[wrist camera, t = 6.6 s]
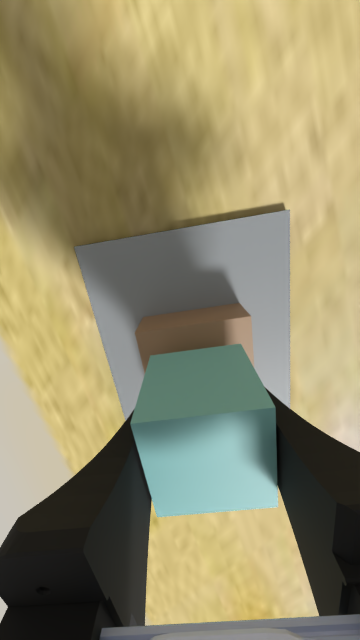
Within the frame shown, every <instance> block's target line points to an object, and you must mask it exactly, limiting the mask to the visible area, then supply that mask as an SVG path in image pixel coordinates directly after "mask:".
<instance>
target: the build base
mask: <svg viewBox="0 0 360 640" xmlns="http://www.w3.org/2000/svg"><path fill="white" fill-rule="evenodd" d="M74 249H75V252H76V255H77V259H78V262H79V265H80V269H81V272H82V276H83V279H84V282H85V286H86V289H87V292H88V296H89V299H90V302H91V306H92V309H93V313H94V316H95V319H96V323H97V326H98V329H99V333H100V336H101V339H102V343H103V346H104V350H105V353H106V356H107V360H108V363H109V366H110V370H111V373H112V376H113V380H114V383H115V387H116V390H117V393H118V397H119V400H120V403H121V407H122V410H123V413H124V417H125V420H127V418H128V417H129V416H130V414H131V413H132V411H133V410H134V409H135V406H136V403H137V399H138V396H139V392H140V389H141V386H142V382H143V379H144V375H145V372H146V368H147V365H148V362H149V358H150V355H158V354H166V353H173V352H181V351H188V350H196V349H203V348H211V347H218V346H226V345H233V344H241V345H242V347H243V348H244V350H245V352H246V354H247V356H248V358H249V360H250V361H251V363H252V365H253V367H254V369H255V371H256V372H257V374H258V376H259V378H260V380H261V382H262V383H263V385H264V387H265V388H267V389H268V390H269V391H270V392H271V393H272V394H273V395H274V396H275V397H277V398H278V399H279V400H280V401H281V402H282V403H284V404H285V405H286V406H287V407H289V408H290V210H285V211H279V212H273V213H267V214H261V215H256V216H250V217H244V218H238V219H232V220H227V221H221V222H215V223H209V224H204V225H198V226H192V227H186V228H180V229H175V230H169V231H163V232H157V233H151V234H146V235H140V236H134V237H128V238H123V239H117V240H111V241H105V242H99V243H94V244H88V245H82V246H76V247H74Z"/></svg>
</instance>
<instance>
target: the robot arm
mask: <svg viewBox="0 0 360 640" xmlns="http://www.w3.org/2000/svg"><path fill="white" fill-rule="evenodd" d="M265 389H266V391H267V393H268V394H269V396H270V398H271V400H272V402H273V404H274V405H275V407H276V447H277V485H278V487H279V490H280V493H281V496H282V499H283V502H284V505H285V508H286V511H287V514H288V517H289V520H290V523H291V526H292V529H293V532H294V535H295V538H296V541H297V544H298V548H299V551H300V554H301V557H302V560H303V563H304V567H305V570H306V573H307V576H308V580H309V583H310V586H311V589H312V593H313V596H314V599H315V603H316V606H317V609H318V613H319V616H317V617H299V618H280V619H262V620H243V621H224V622H206V623H187V624H169V625H150V626H145V603H146V578H147V558H148V541H149V526H150V513H151V501H152V498H151V494H150V491H149V487H148V484H147V480H146V477H145V473H144V470H143V466H142V463H141V459H140V456H139V452H138V449H137V445H136V442H135V438H134V435H133V431H132V428H131V425H130V423H131V420H132V416H133V413H134V410H133V411H132V413H131V414H130V416H129V417H128V418H127V420H126V421H125V422H124V424H123V425H122V426H121V428H120V429H119V430H118V431H117V433H116V434H115V435H114V436H113V438H112V439H111V440H110V441H109V442H108V444H107V445H106V446H105V447H104V448H103V449H102V450H101V451H100V452H99V453H98V454H97V455H96V456H95V457H94V458H93V459H92V460H91V461H90V462H89V463H88V464H87V465H86V466H85V467H84V468H82V469H81V470H80V471H79V472H78V473H77V474H76V475H75V476H74V477H72V478H71V479H70V480H69V481H68V482H67V483H65V484H64V485H63V486H61V487H60V488H59V489H58V490H56V491H55V492H54V493H53V494H51V495H50V496H49V497H48V498H46V499H44V500H43V501H42V502H40V503H39V504H37V505H36V506H34V507H33V508H32V509H30V510H29V511H27V512H26V513H25V514H23V515H22V516H20V517H19V518H18V519H17V521H16V522H15V524H14V526H13V527H12V529H11V530H10V532H9V534H8V535H7V537H6V539H5V540H4V542H3V544H2V545H1V547H0V597H1V598H2V599H3V601H4V602H5V603H6V605H7V606H8V608H7V610H6V613H5V615H4V617H3V619H2V621H1V623H0V640H360V452H358V451H356V450H354V449H352V448H350V447H348V446H347V445H345V444H343V443H341V442H339V441H337V440H336V439H334V438H332V437H330V436H329V435H327V434H325V433H324V432H322V431H321V430H319V429H318V428H316V427H314V426H313V425H311V424H310V423H308V422H307V421H306V420H304V419H303V418H301V417H300V416H299V415H297V414H296V413H295V412H294V411H292V410H291V409H290V408H289V407H287V406H286V405H285V404H284V403H282V402H281V401H280V400H279V399H278V398H277V397H275V396H274V395H273V394H272V393H271V392H270V391H269V390H268V389H267V388H265Z"/></svg>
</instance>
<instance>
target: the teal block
mask: <svg viewBox="0 0 360 640" xmlns="http://www.w3.org/2000/svg"><path fill="white" fill-rule="evenodd" d="M130 425H131V428H132V431H133V435H134V438H135V442H136V445H137V449H138V452H139V456H140V459H141V463H142V466H143V470H144V473H145V477H146V480H147V484H148V487H149V491H150V494H151V498H152V501H153V505H154V508H155V512H156V515H157V517H165V516H177V515H189V514H201V513H213V512H225V511H237V510H249V509H261V508H273V507H278V488H277V447H276V407H275V405H274V404H273V402H272V400H271V398H270V396H269V394H268V393H267V391H266V389H265V387H264V385H263V383H262V382H261V380H260V378H259V376H258V374H257V372H256V371H255V369H254V367H253V365H252V363H251V361H250V360H249V358H248V356H247V354H246V352H245V350H244V348H243V347H242V345H241V344H233V345H226V346H218V347H211V348H203V349H196V350H188V351H181V352H173V353H166V354H158V355H150V358H149V362H148V365H147V368H146V372H145V375H144V379H143V382H142V386H141V389H140V392H139V396H138V399H137V403H136V406H135V409H134V413H133V416H132V420H131V423H130Z"/></svg>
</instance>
